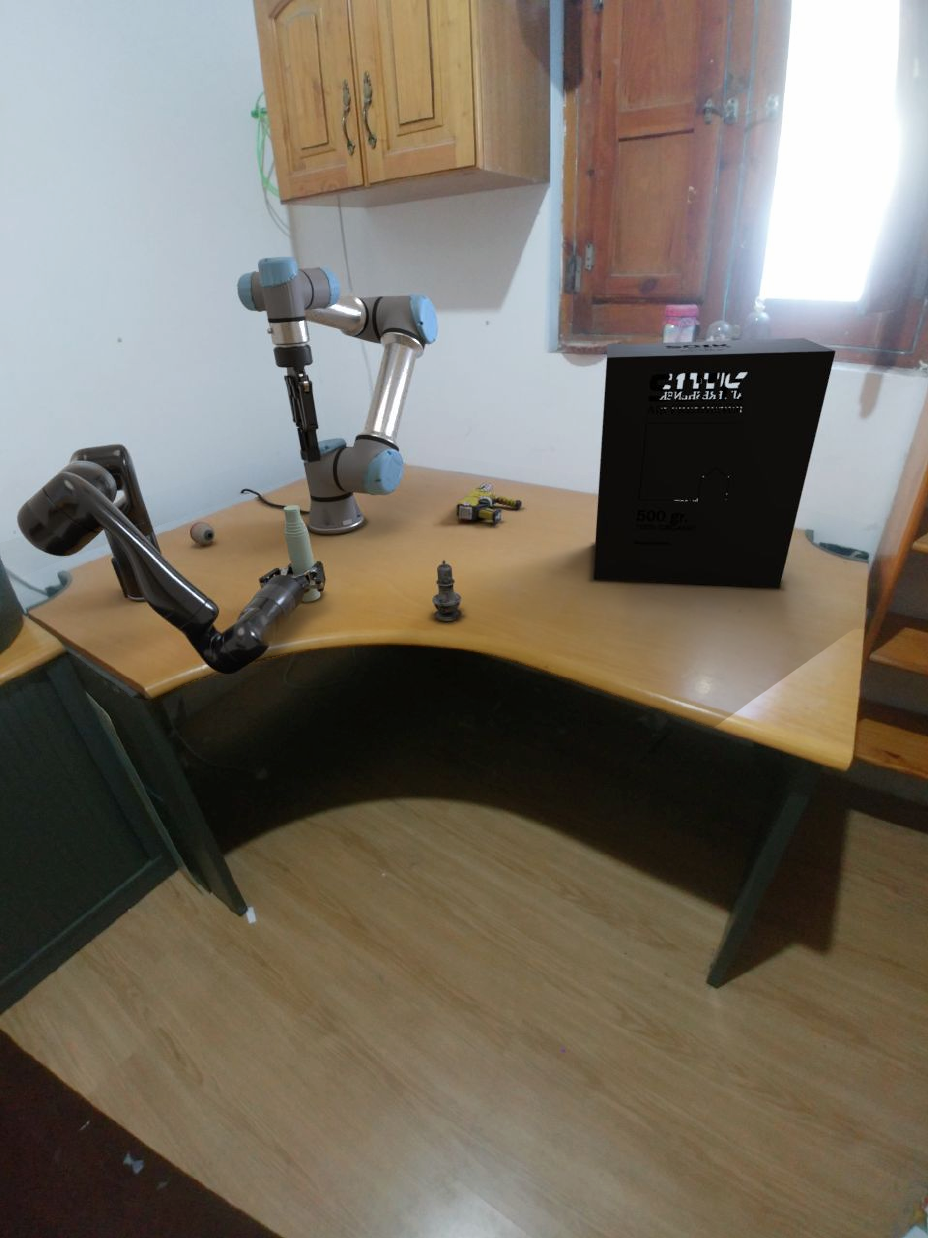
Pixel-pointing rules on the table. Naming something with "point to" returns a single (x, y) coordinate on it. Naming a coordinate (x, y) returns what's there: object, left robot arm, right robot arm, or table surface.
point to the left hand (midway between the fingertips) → (308, 564)
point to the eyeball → (202, 533)
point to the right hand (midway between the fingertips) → (311, 458)
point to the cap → (305, 454)
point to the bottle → (299, 546)
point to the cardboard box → (706, 459)
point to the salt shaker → (446, 595)
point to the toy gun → (483, 505)
